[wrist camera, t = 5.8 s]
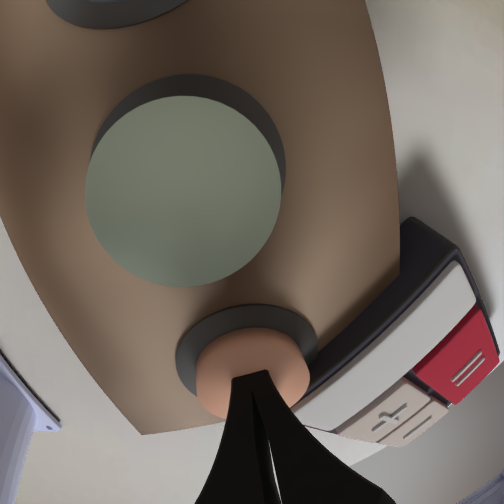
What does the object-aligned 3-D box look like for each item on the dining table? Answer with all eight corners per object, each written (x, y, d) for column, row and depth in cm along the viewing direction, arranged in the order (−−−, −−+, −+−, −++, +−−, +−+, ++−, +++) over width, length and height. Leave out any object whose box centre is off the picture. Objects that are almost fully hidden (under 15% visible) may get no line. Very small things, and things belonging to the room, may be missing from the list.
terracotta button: (214, 408, 13) (217, 429, 12) (179, 344, 11) (178, 367, 10) (306, 384, 13) (314, 403, 12) (293, 313, 11) (302, 333, 10)
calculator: (400, 453, 19) (272, 430, 12) (379, 415, 23) (252, 363, 16) (506, 360, 16) (470, 251, 10) (476, 327, 20) (408, 210, 14)
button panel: (144, 407, 16) (141, 437, 14) (-15, -14, 5) (-41, -24, 3) (376, 344, 17) (394, 369, 15) (292, -110, 6) (307, -134, 4)
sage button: (135, 281, 9) (128, 305, 8) (78, 133, 7) (59, 138, 6) (284, 239, 9) (296, 258, 8) (248, 79, 7) (256, 73, 6)
